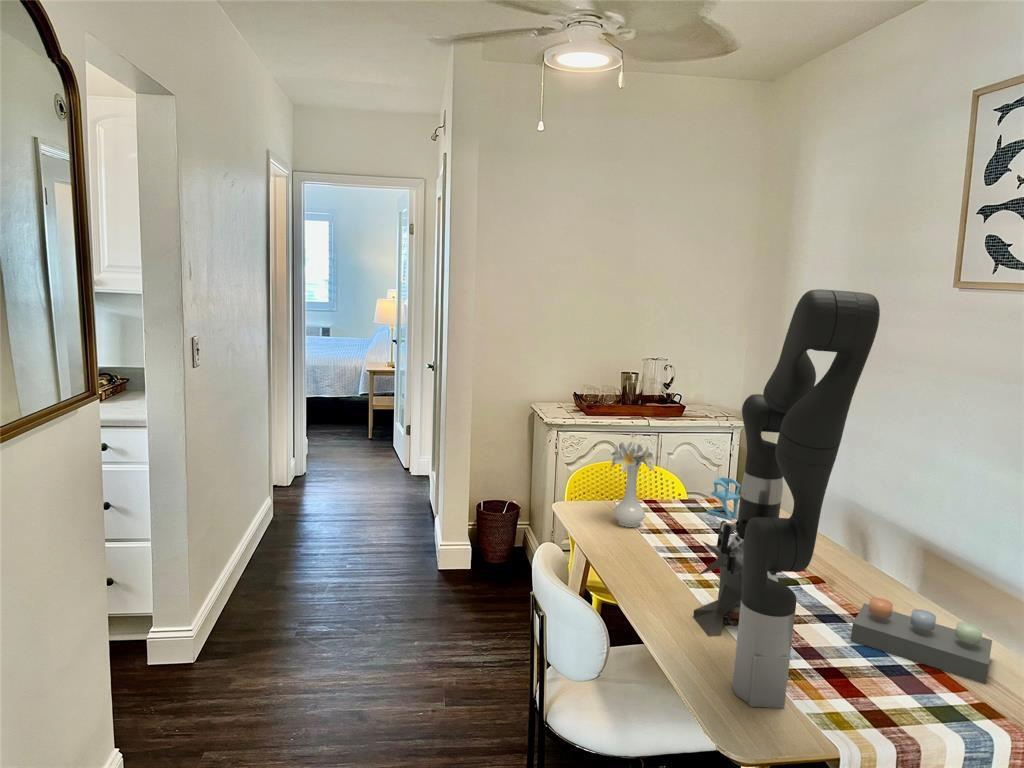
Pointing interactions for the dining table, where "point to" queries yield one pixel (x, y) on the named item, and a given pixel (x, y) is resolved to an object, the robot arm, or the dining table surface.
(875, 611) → the terracotta button
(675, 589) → the dining table surface
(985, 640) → the console
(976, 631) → the sage button
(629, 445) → the flower vase
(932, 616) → the slate button
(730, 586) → the grey finned figurine
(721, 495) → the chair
